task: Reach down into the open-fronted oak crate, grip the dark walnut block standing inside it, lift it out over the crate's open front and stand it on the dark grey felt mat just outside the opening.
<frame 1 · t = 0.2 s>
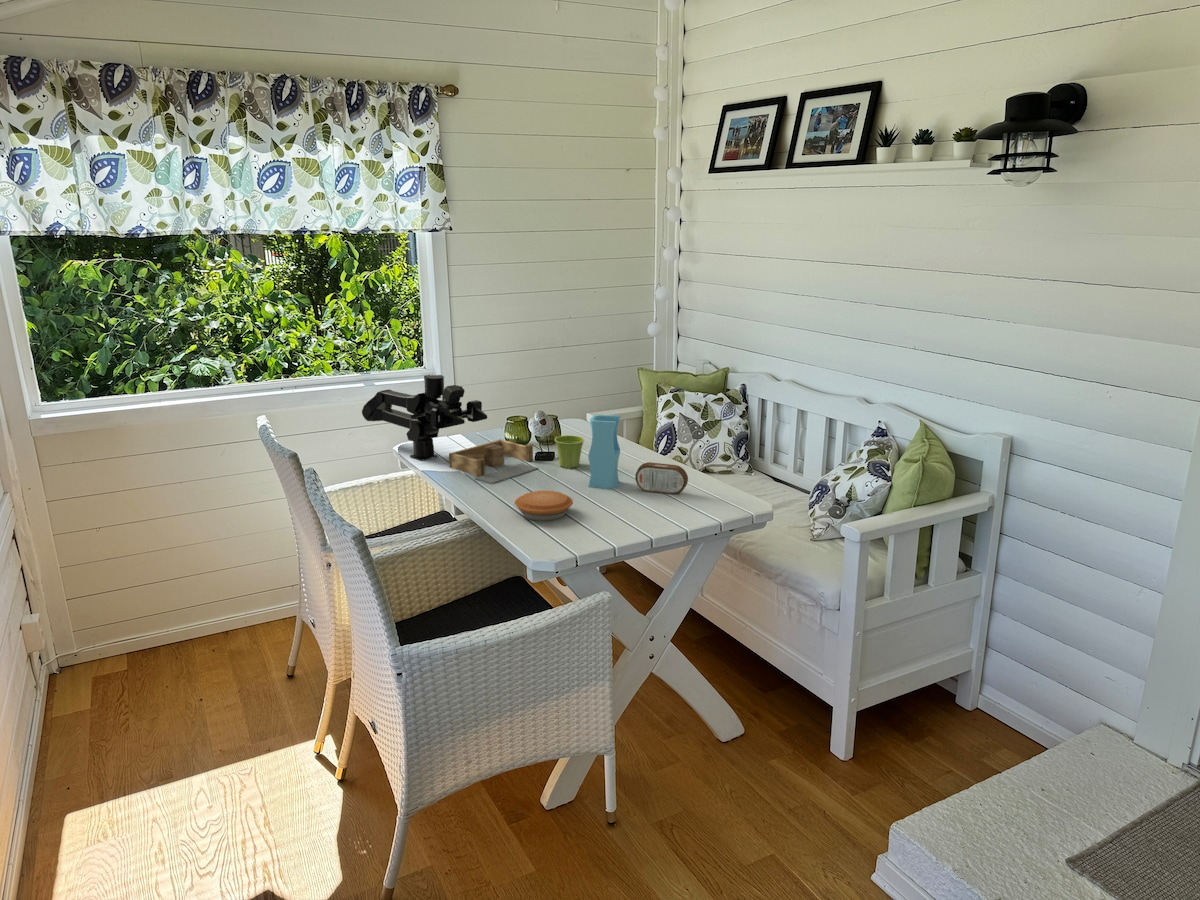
hand: (475, 419, 265), 17 cm above the table, tool horizontal, fingers open, 9 cm apart
mat: (507, 474, 268), on the table
block: (494, 465, 277), on the table
pie: (544, 514, 235), on the table
plant pot: (569, 466, 277), on the table
tin: (660, 493, 252), on the table
wavy blue tube: (604, 484, 259), on the table
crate: (490, 463, 278), on the table
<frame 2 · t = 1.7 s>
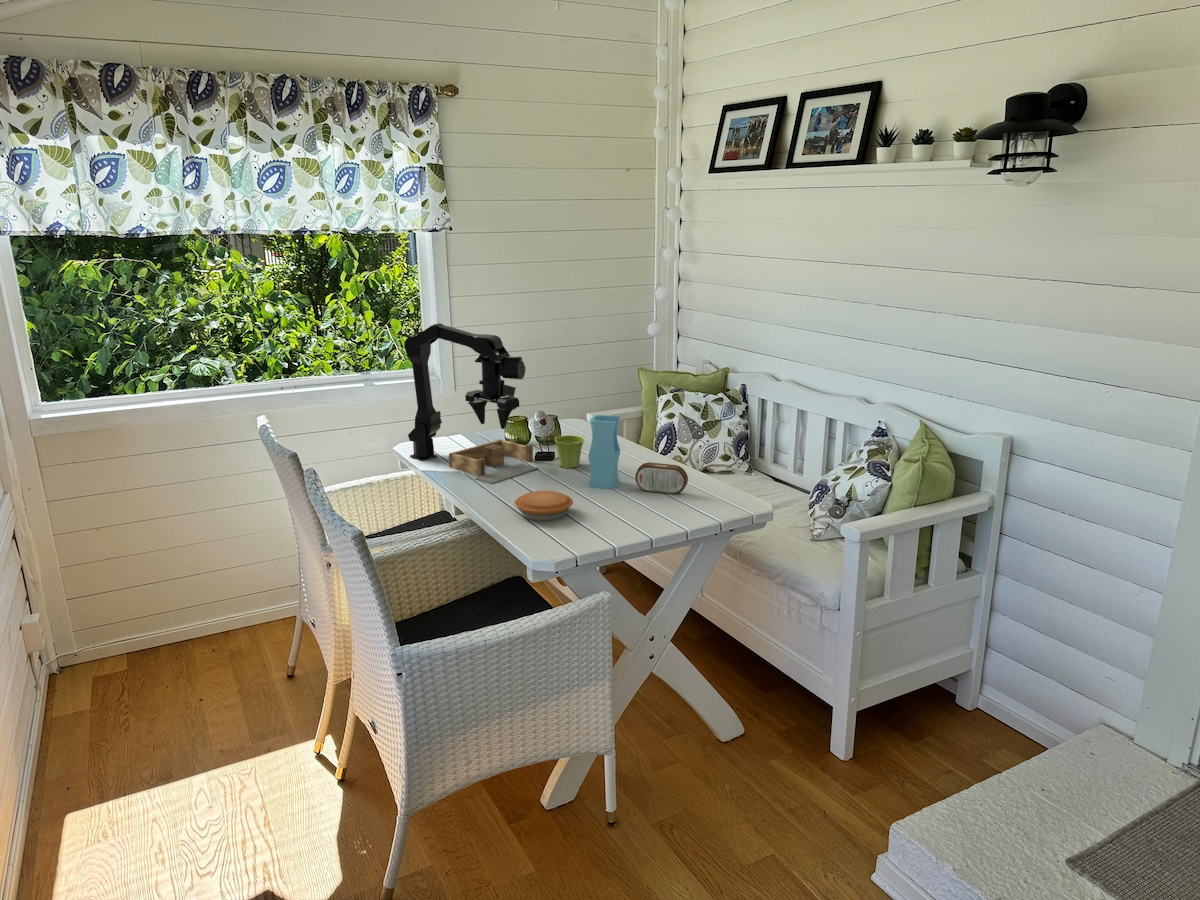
hand: (492, 426, 273), 13 cm above the table, tool pointing down, fingers open, 9 cm apart
nothing on the table moved.
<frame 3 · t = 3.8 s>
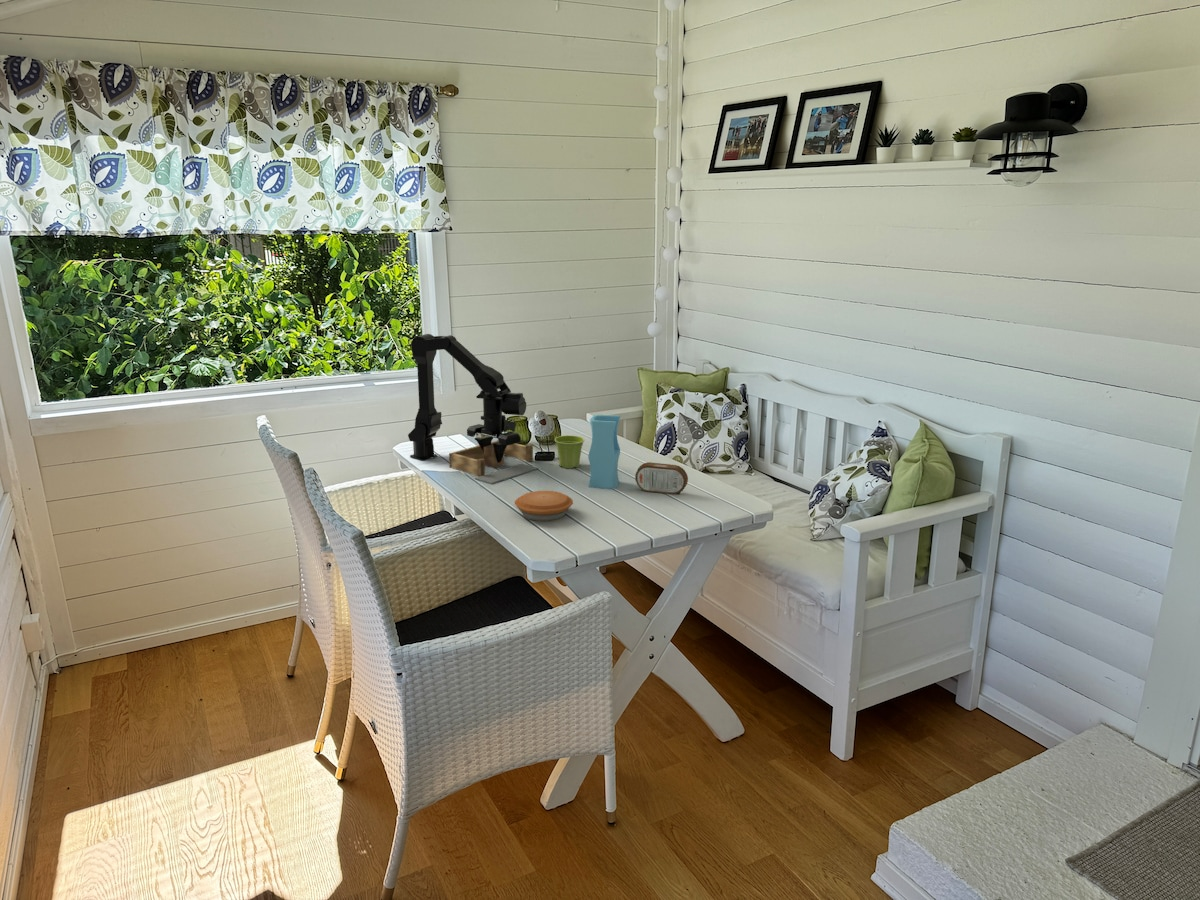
hand: (494, 460, 277), 1 cm above the table, tool pointing down, fingers closed on block, 4 cm apart
block: (494, 464, 277), on the table, touching gripper
everything else where it was.
when the fingers open (3 cm above the table, at t = 8.2 s): block stays where it is, resting on mat.
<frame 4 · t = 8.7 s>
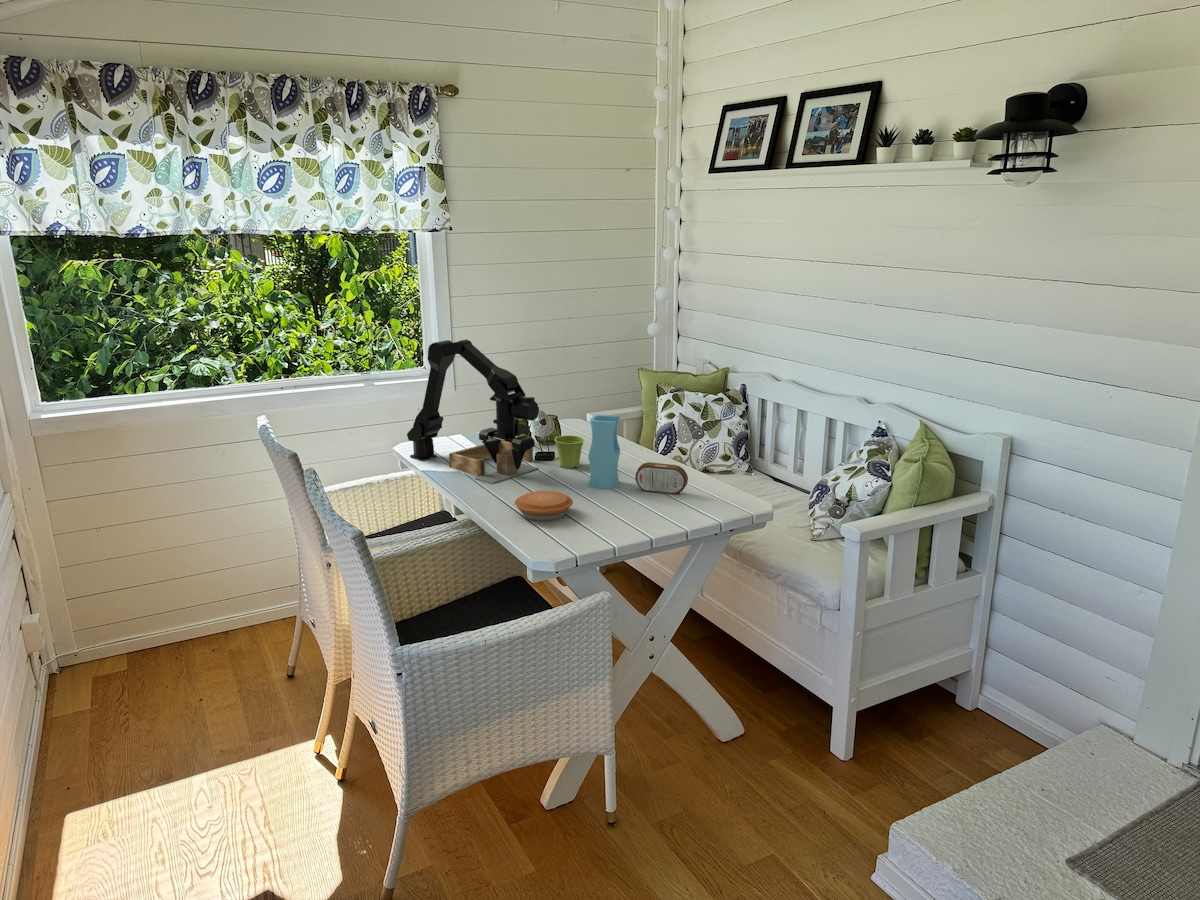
hand: (507, 465, 267), 3 cm above the table, tool pointing down, fingers open, 9 cm apart
block: (507, 472, 268), resting on mat
everything else where it was.
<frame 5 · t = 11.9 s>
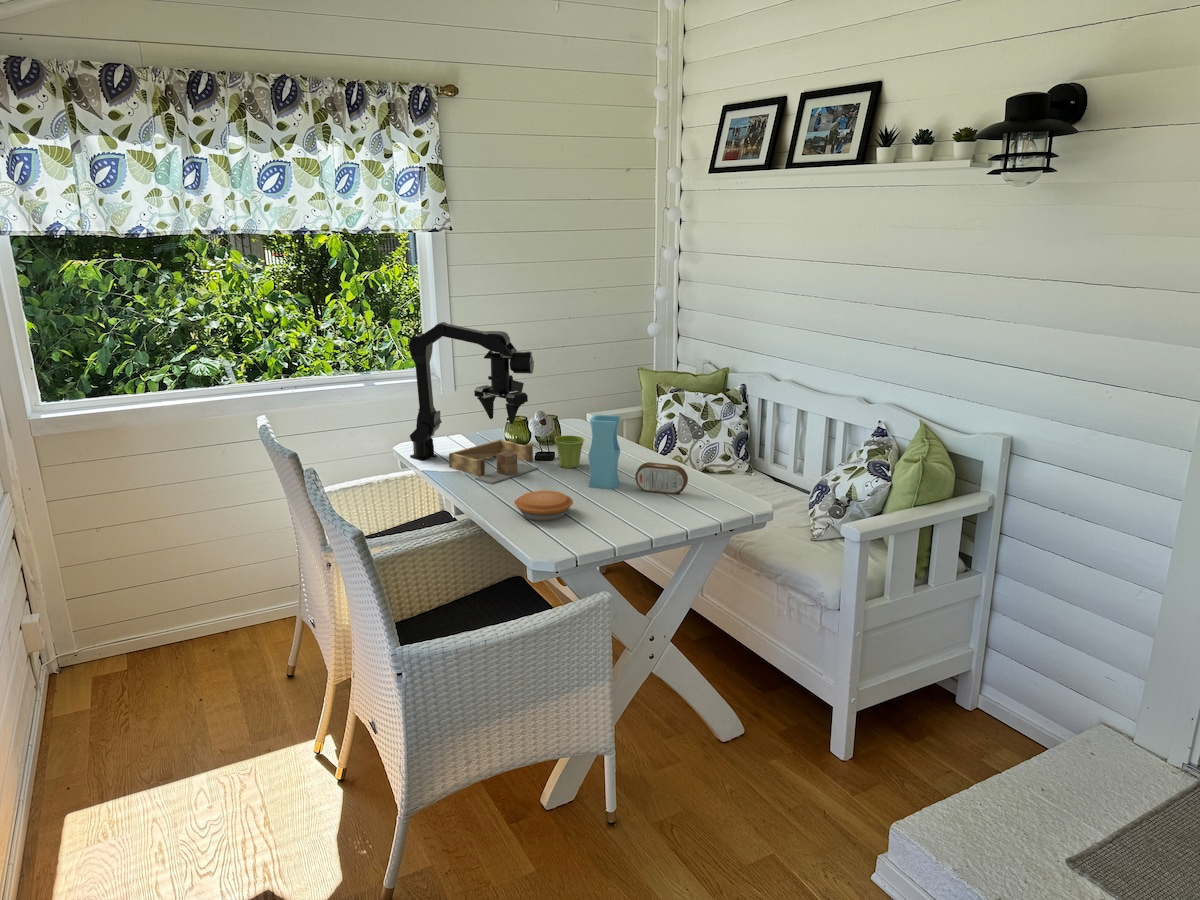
hand: (501, 421, 278), 13 cm above the table, tool pointing down, fingers open, 9 cm apart
nothing on the table moved.
at the end: block inside the target area (0.3 cm from its centre), resting on mat; block tilted 0°; the gripper is holding nothing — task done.
